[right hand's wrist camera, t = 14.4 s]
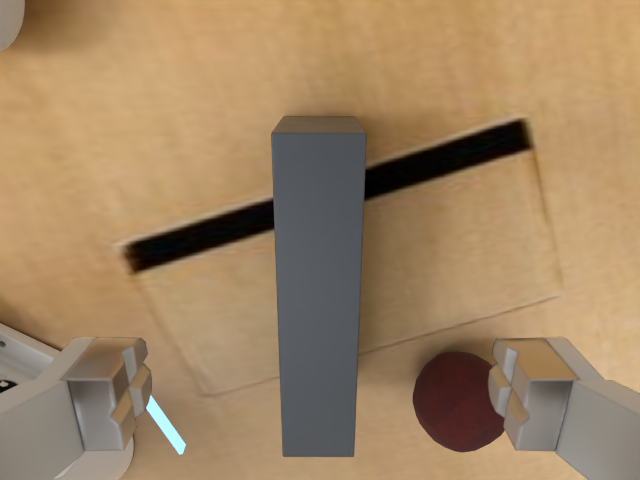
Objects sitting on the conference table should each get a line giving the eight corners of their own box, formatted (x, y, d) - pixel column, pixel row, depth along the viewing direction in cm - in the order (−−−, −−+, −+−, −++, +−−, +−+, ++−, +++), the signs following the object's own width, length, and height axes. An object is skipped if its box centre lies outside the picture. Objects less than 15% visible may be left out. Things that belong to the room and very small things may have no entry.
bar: (283, 116, 32) (270, 132, 24) (355, 116, 32) (366, 133, 24) (290, 380, 40) (282, 457, 32) (347, 381, 40) (354, 457, 32)
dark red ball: (509, 369, 39) (546, 429, 33) (443, 421, 42) (466, 487, 35) (452, 320, 38) (480, 373, 31) (386, 376, 40) (400, 438, 33)
